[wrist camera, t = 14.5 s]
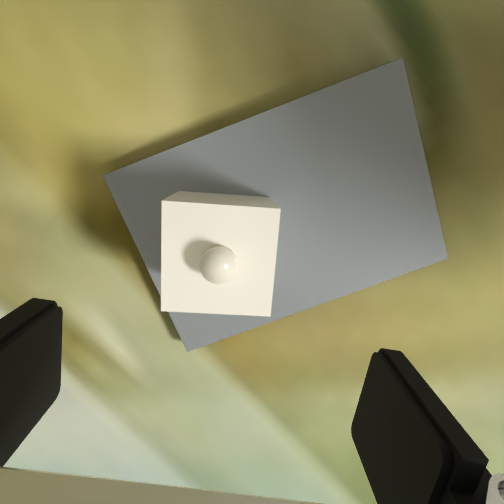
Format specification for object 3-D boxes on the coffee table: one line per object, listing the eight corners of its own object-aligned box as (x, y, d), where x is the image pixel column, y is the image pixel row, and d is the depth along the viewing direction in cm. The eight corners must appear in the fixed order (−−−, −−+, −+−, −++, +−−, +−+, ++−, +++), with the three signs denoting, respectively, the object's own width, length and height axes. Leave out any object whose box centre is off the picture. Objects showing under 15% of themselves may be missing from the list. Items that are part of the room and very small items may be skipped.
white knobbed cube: (179, 190, 25) (157, 202, 18) (270, 197, 25) (283, 211, 18) (177, 277, 26) (157, 318, 20) (263, 282, 27) (272, 324, 20)
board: (395, 62, 24) (403, 57, 23) (439, 254, 28) (448, 258, 27) (108, 174, 25) (102, 175, 24) (189, 344, 29) (187, 352, 28)
